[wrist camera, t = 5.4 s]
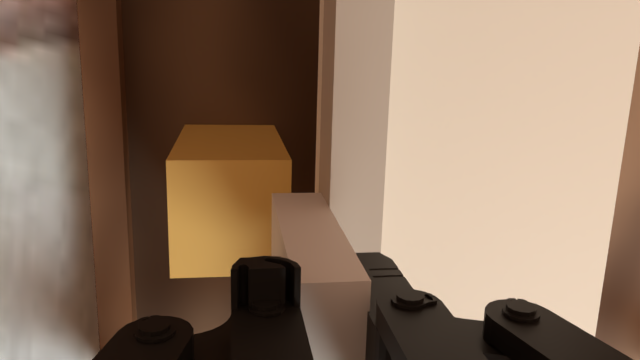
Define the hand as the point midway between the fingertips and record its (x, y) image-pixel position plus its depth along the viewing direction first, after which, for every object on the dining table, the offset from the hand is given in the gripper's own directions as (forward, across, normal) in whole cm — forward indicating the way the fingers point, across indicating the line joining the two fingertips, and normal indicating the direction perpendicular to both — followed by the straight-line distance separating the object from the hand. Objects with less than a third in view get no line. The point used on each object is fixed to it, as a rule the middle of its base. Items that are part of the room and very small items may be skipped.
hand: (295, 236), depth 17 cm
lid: (+1, +6, 0) cm, 6 cm away
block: (+10, -2, 0) cm, 10 cm away
